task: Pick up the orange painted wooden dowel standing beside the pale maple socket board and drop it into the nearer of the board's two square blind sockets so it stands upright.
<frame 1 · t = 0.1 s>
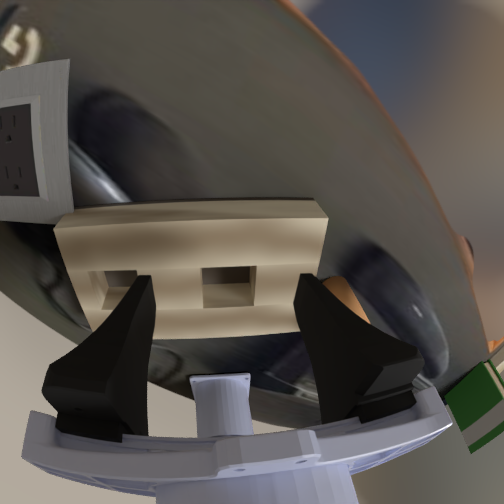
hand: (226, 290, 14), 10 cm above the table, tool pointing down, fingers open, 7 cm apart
electrical outlet: (26, 140, 16), on the table, touching socket board
dowel: (333, 288, 29), on the table
hardback book: (467, 377, 64), on the table
socket board: (191, 262, 25), on the table
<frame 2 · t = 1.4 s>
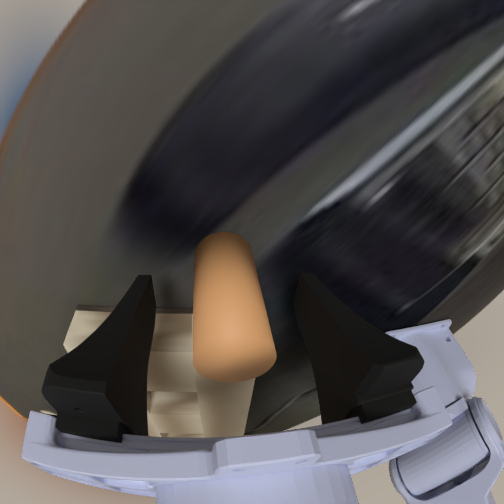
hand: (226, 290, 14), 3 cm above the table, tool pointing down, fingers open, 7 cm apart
dowel: (223, 256, 16), on the table
socket board: (176, 384, 23), on the table
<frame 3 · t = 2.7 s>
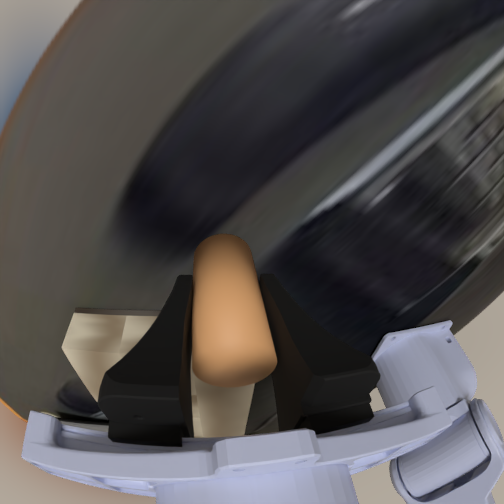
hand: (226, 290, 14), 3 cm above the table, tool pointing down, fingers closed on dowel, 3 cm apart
electrical outlet: (100, 425, 29), on the table, touching socket board
dowel: (222, 258, 16), on the table, touching gripper
socket board: (175, 387, 23), on the table
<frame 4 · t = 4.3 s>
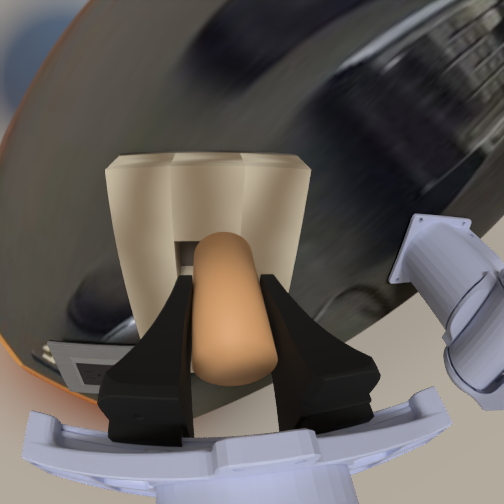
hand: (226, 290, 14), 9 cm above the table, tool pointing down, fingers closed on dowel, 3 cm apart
electrical outlet: (110, 358, 30), on the table, touching socket board
dowel: (223, 257, 16), point 6 cm above the table, touching gripper
socket board: (207, 270, 24), on the table
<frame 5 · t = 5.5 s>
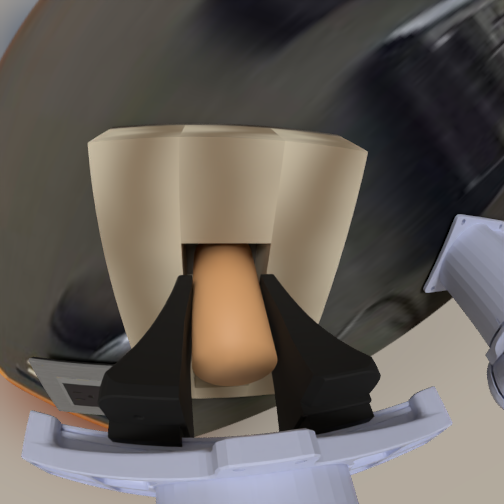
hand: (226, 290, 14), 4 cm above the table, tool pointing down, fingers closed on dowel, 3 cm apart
electrical outlet: (102, 376, 25), on the table, touching socket board
dowel: (222, 257, 16), point 2 cm above the table, touching gripper
socket board: (220, 280, 19), on the table
when the fingers open (4 cm above the table, at t = 6.2 s): dowel drops 1 cm, resting on socket board.
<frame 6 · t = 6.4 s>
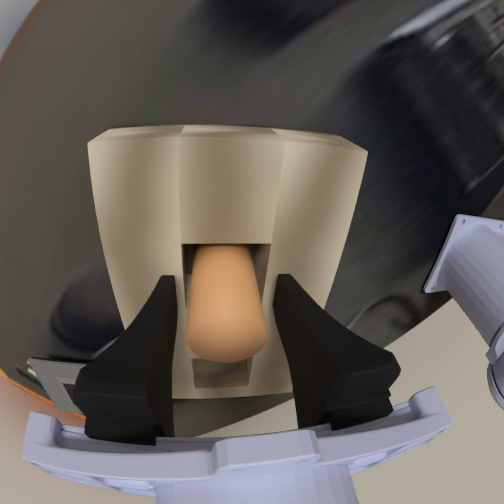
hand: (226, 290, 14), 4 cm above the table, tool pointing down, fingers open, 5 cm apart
electrical outlet: (102, 377, 25), on the table, touching socket board
dowel: (222, 245, 17), point 1 cm above the table, touching socket board
socket board: (220, 280, 19), on the table
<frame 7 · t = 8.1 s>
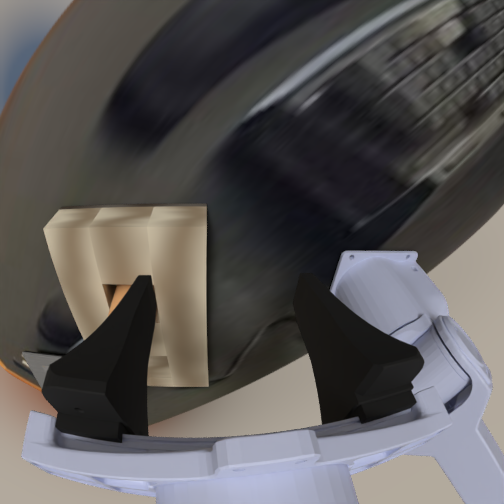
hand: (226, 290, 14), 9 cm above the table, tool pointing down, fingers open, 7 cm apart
electrical outlet: (77, 367, 32), on the table, touching socket board
socket board: (143, 301, 26), on the table
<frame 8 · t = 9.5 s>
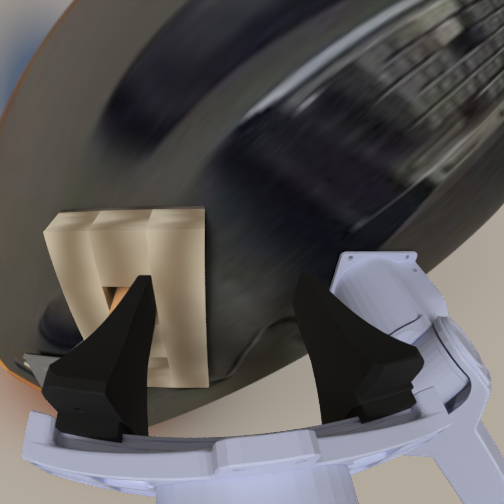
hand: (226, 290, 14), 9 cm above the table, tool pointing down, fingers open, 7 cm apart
electrical outlet: (78, 369, 32), on the table, touching socket board
socket board: (143, 303, 26), on the table
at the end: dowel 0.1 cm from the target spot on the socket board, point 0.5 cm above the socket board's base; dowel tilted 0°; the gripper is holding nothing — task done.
